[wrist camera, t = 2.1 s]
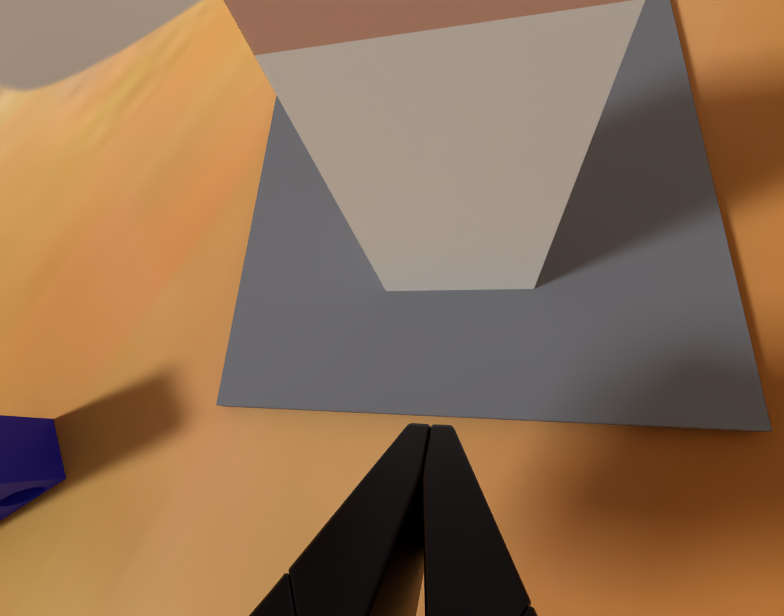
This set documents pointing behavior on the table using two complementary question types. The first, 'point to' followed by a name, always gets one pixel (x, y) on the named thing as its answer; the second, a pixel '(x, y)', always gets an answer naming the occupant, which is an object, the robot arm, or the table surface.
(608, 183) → the rubber mat
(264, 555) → the table surface
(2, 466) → the cable clip
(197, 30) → the table surface
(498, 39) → the cream block
